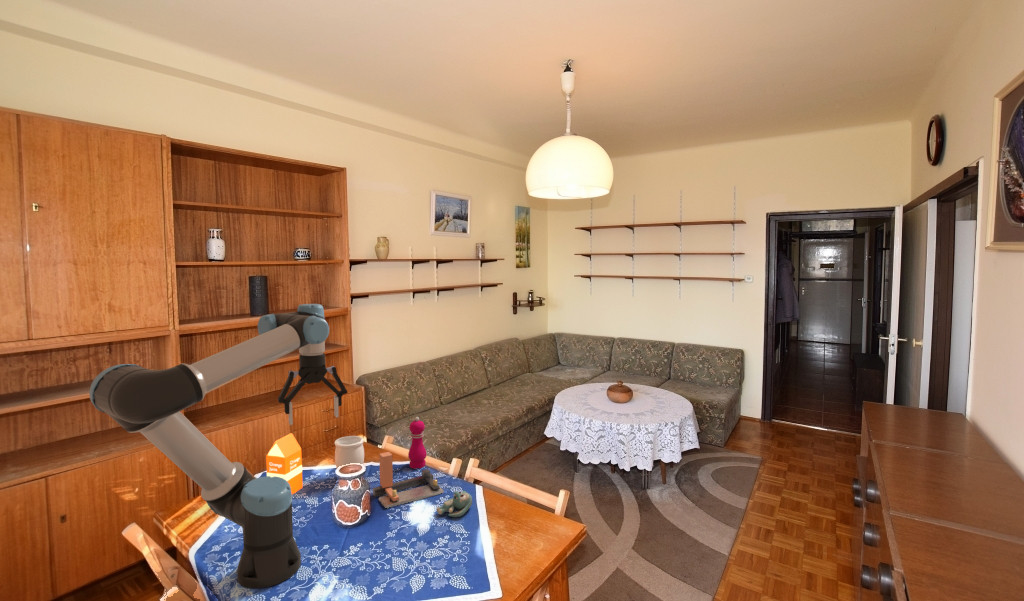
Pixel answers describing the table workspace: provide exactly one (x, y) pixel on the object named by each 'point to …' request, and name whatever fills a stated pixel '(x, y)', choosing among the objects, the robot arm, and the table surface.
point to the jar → (349, 450)
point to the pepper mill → (417, 445)
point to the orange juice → (286, 461)
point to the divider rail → (409, 483)
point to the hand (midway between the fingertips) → (314, 420)
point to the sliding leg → (387, 475)
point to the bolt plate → (410, 495)
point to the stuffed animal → (456, 504)
